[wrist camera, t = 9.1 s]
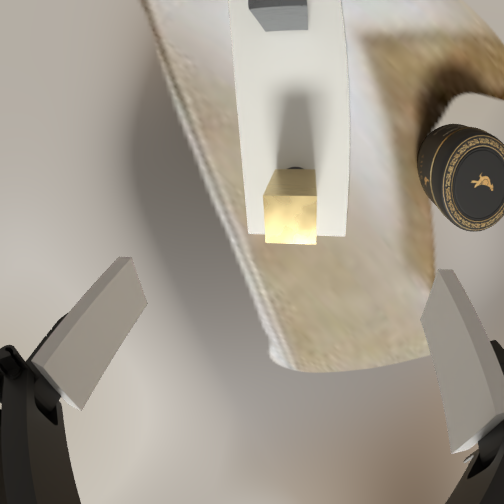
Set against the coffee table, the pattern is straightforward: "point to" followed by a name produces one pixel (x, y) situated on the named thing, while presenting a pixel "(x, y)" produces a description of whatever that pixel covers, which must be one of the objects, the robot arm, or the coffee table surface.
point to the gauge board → (293, 108)
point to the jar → (464, 175)
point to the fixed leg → (280, 14)
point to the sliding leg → (291, 207)
